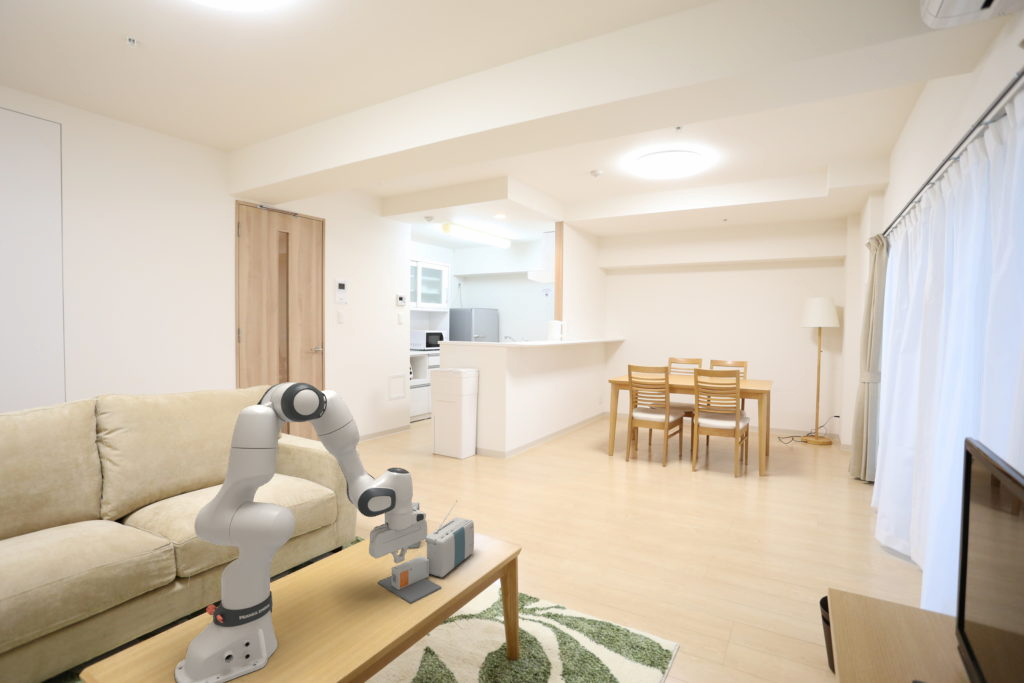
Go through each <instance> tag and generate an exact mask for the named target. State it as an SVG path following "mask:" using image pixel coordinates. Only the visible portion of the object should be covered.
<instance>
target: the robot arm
mask: <svg viewBox="0 0 1024 683" xmlns="http://www.w3.org/2000/svg"><path fill="white" fill-rule="evenodd" d="M305 422H309V423H311V425H312V427H313V428H314V431H315V433H316V435H317V437H318V439H319V441H320V442H321V444H322V446H323V447H324V448H325V450H327V452H328V453H329V454H330V455H331V456H333V457H334V458H335V460H336V461H337V463H338V465H339V467H340V470H341V472H342V474H343V476H344V478H345V481H346V482H345V483H346V496H347V499H348V501H349V502H350V503H351V504H353V505H354V507H355V508H356V509H357V510H358V512H359V513H360V514H361V515H362V516H364V517H368V518H374V517H379V516H381V515H383V514H384V523H383V524H380V525H378V526H377V525H376V526H375V527H374V528H373V529H372V530H371V531H370V533H369V544H368V545H369V546H368V555H370V556H371V557H372V558H374V559H379V558H382V557H384V556H387V555H389V554H391V555H392V557H393V562H394V563H395V564H397V565H398V564H400V563H402V562H404V561H405V557H406V553H407V551H408V550H409V548H408V546H409V545H412V544H414V543H417V542H419V541H420V542H421V541H423V540H424V541H425V539H426V537H427V535H428V523H427V520H426V519H427V513H426V512H424V511H421V509H419V510H417V509H413V506H412V503H413V502H412V501H413V496H414V492H413V490H414V489H413V480H412V479H413V478H412V474H411V472H409V471H408V470H407V469H405V468H401V467H389V468H386V471H384V473H383V474H382V475H380V476H378V477H377V478H375V477H374V476H372V475H371V474H369V473H368V472H367V471H366V469H365V468H364V465H363V463H362V461H361V458H360V457H359V454H358V451H357V445H359V442H360V439H361V438H360V433H359V429H358V425H357V423H356V421H355V418H354V416H353V414H352V412H351V410H350V409H349V407H348V405H347V404H346V402H345V401H344V400H343V398H342V397H341V395H340V394H339V393H338V392H336V391H335V390H333V389H326V390H319V389H318V388H317V387H315V386H314V385H312V384H309V383H307V382H295V381H287V382H283V383H277V384H274V385H272V386H270V387H269V388H268V389H266V391H265V392H264V394H263V395H262V397H261V399H260V400H259V401H258V402H257V404H253V405H250V406H246V407H244V408H243V409H241V410H240V411H239V414H238V416H237V418H236V422H235V426H234V429H233V433H232V437H231V444H230V452H229V456H228V457H229V458H228V463H227V464H228V465H227V471H226V474H225V478H224V481H223V483H222V485H221V487H220V489H219V491H218V492H217V494H216V495H215V496H214V498H212V500H211V501H210V502H208V503H207V504H205V505H204V506H202V508H201V509H200V510H199V511H198V513H197V515H196V517H195V519H194V532H195V535H196V536H197V538H198V539H200V540H202V541H205V542H207V543H210V544H213V545H217V546H226V547H227V546H229V547H236V548H238V550H239V551H238V552H239V554H238V558H236V559H235V560H233V561H231V562H230V563H229V564H228V565H227V566H226V567H225V568H224V570H223V572H222V574H221V577H220V578H221V579H220V580H221V582H220V583H221V587H220V588H221V601H220V602H219V604H218V606H216V605H215V604H214V603H211V604H209V605H207V607H206V609H205V611H206V613H207V614H208V615H210V616H212V620H211V621H210V623H208V624H207V625H206V627H204V629H202V630H201V631H200V632H199V633H198V634H197V635H196V636H195V637H194V638H193V639H192V640H191V642H190V643H189V645H188V647H187V652H186V656H185V658H184V659H182V660H180V661H179V662H178V663H177V665H176V667H175V670H174V678H175V681H176V683H225V682H228V681H231V680H234V679H236V678H238V677H241V676H242V677H243V676H244V675H247V674H250V673H252V672H255V671H258V670H261V669H263V668H265V666H266V664H267V663H268V660H269V658H270V657H271V656H272V655H273V654H274V653H275V651H276V649H277V648H278V644H279V643H278V639H277V636H276V633H275V629H274V626H273V624H274V623H273V618H272V612H273V606H274V605H273V603H274V602H273V594H272V590H271V570H272V569H271V568H272V562H273V559H274V557H275V555H276V553H277V551H278V550H279V549H280V548H282V547H283V546H284V545H285V544H286V543H287V542H288V541H289V540H290V539H291V537H292V536H293V533H294V531H295V528H296V517H295V514H294V512H293V511H292V509H291V508H289V507H286V506H283V505H280V504H277V503H273V502H270V503H269V502H258V501H254V499H255V496H256V493H257V491H258V490H259V488H260V487H262V486H264V485H266V484H267V483H269V482H270V481H271V480H272V479H273V477H274V476H275V472H276V465H277V454H278V447H279V446H278V445H279V435H280V433H281V429H282V428H283V426H284V424H286V423H305ZM399 550H400V551H399ZM399 552H400V553H399Z"/></svg>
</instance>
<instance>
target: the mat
mask: <svg viewBox="0 0 1024 683" xmlns="http://www.w3.org/2000/svg"><path fill="white" fill-rule="evenodd" d="M377 584H378V585H380V586H381V587H383V588H384V589H386V590H388V591H389V592H391V593H392V594H394V595H395V596H397V597H399V598H401V599H403V600H404V601H406V602H407V603H408V604H410V605H411V604H413V603H416V602H417V601H419V600H422V599H423V598H426V597H427V596H429V595H432V594H434V593H436V592H437V591H439V590H442V586H441V585H439V584H437V583H435V582H434V581H431V580H430V579H428V578H424V579H422V580H420V581H417V582H415V583H413V584H411V585H408V586H406V587H404V588H402V589H399V590H398V589H396V588H395V587H393V586H392V575H389V576H387V577H386V578H382V579H381V580H378V581H377Z"/></svg>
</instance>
